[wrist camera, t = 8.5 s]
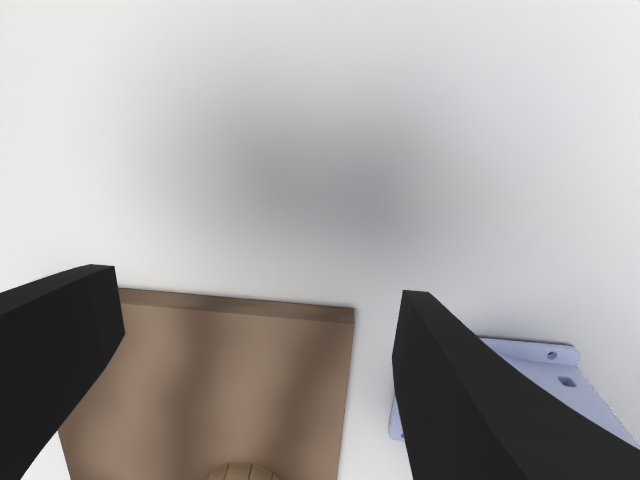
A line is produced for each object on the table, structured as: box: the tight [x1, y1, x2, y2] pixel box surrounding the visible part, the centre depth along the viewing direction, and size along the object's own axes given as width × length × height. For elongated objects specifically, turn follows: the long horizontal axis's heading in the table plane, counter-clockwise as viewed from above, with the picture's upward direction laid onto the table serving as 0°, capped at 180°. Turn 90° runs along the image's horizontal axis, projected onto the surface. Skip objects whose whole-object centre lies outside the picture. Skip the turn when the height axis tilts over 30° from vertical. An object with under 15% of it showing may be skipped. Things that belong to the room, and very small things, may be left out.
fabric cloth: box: [58, 288, 354, 480], centre depth 25 cm, size 18×18×2 cm
